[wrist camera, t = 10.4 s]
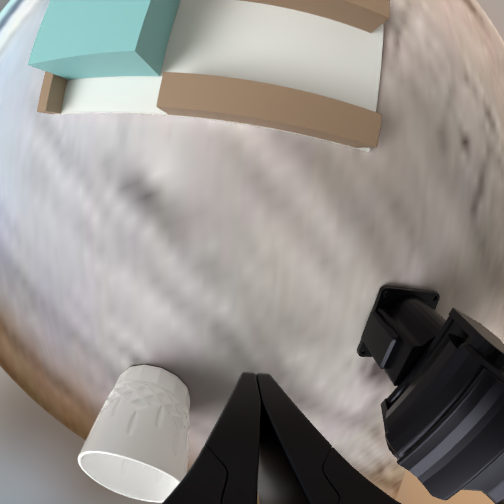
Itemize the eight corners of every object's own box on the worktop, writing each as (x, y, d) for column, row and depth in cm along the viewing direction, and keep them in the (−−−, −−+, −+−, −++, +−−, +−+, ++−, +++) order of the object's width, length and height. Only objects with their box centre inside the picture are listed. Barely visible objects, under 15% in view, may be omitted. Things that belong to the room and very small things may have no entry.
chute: (380, 20, 15) (403, 3, 11) (365, 151, 18) (391, 152, 14) (94, -10, 12) (75, -30, 9) (56, 114, 16) (28, 110, 12)
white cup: (145, 343, 22) (107, 440, 12) (214, 396, 24) (210, 492, 14) (99, 382, 23) (63, 462, 13) (162, 426, 25) (147, 507, 15)
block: (180, 1, 13) (166, -38, 8) (159, 76, 15) (134, 51, 10) (90, 9, 12) (59, -19, 8) (68, 79, 14) (27, 64, 10)
